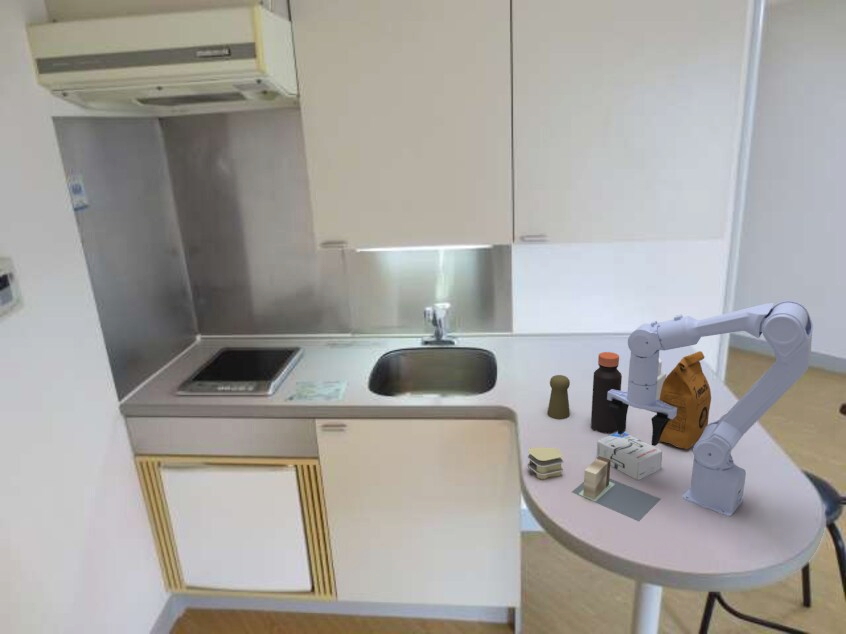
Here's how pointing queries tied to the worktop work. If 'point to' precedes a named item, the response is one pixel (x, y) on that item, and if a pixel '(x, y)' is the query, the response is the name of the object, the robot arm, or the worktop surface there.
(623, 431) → the robot arm
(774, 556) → the worktop surface
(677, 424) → the coffee package
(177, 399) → the worktop surface
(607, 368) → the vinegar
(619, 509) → the rubber mat
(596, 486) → the card case
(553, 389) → the olive pawn
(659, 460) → the ink box
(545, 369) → the worktop surface
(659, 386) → the medicine bottle
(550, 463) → the beige stacked block
